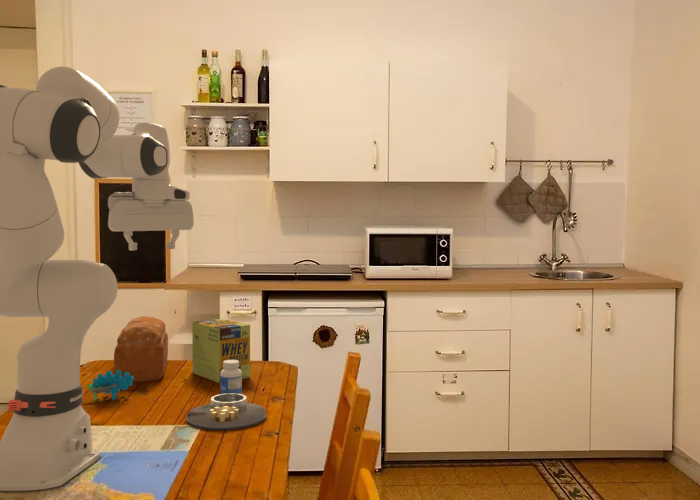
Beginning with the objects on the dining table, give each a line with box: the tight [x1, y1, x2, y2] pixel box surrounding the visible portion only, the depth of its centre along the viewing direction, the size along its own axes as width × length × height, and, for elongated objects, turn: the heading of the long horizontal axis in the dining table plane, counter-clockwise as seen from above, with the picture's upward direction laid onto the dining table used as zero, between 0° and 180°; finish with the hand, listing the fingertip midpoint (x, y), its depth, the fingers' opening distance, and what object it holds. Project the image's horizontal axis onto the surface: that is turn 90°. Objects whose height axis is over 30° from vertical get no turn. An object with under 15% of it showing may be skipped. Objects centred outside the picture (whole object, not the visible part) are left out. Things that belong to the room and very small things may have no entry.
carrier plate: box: [186, 393, 267, 431], centre depth 159 cm, size 18×18×4 cm
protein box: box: [191, 318, 251, 384], centre depth 199 cm, size 10×15×16 cm
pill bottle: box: [219, 360, 243, 394], centre depth 174 cm, size 6×5×10 cm
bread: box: [113, 316, 169, 383], centre depth 203 cm, size 14×26×16 cm, turn 12°
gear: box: [87, 370, 134, 402], centre depth 173 cm, size 11×6×10 cm
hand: (152, 249), depth 166 cm, fingers open, 8 cm apart
